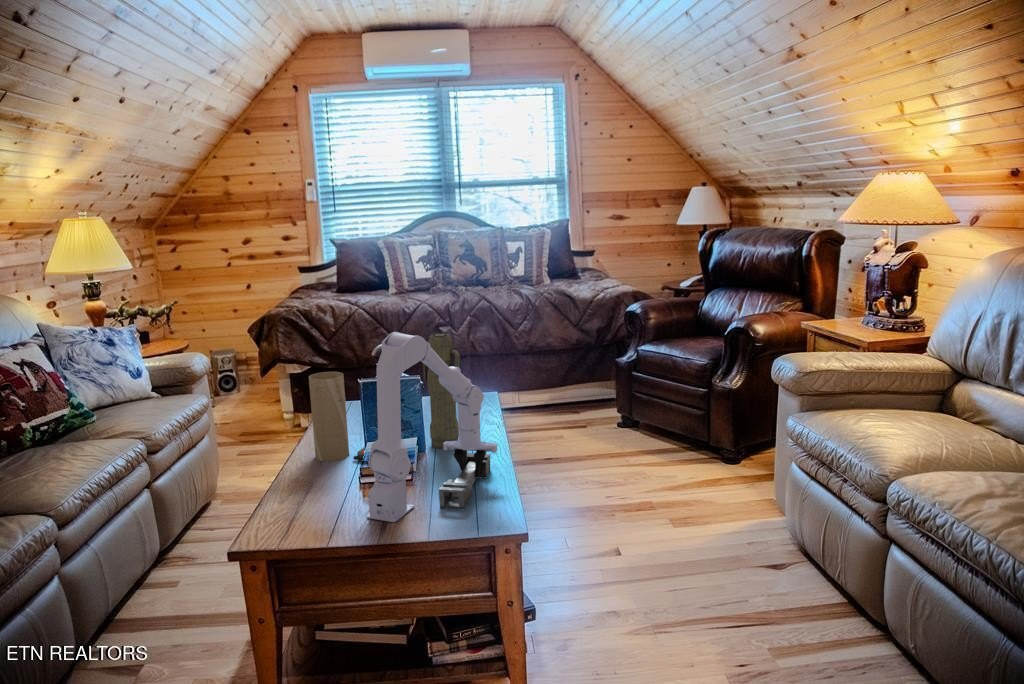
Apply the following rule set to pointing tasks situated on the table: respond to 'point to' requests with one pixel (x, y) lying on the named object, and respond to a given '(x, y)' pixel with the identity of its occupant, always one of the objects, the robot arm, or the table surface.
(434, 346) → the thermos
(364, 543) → the table surface
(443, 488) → the sleeve
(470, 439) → the robot arm
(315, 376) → the tube
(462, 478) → the rod
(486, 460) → the socket
